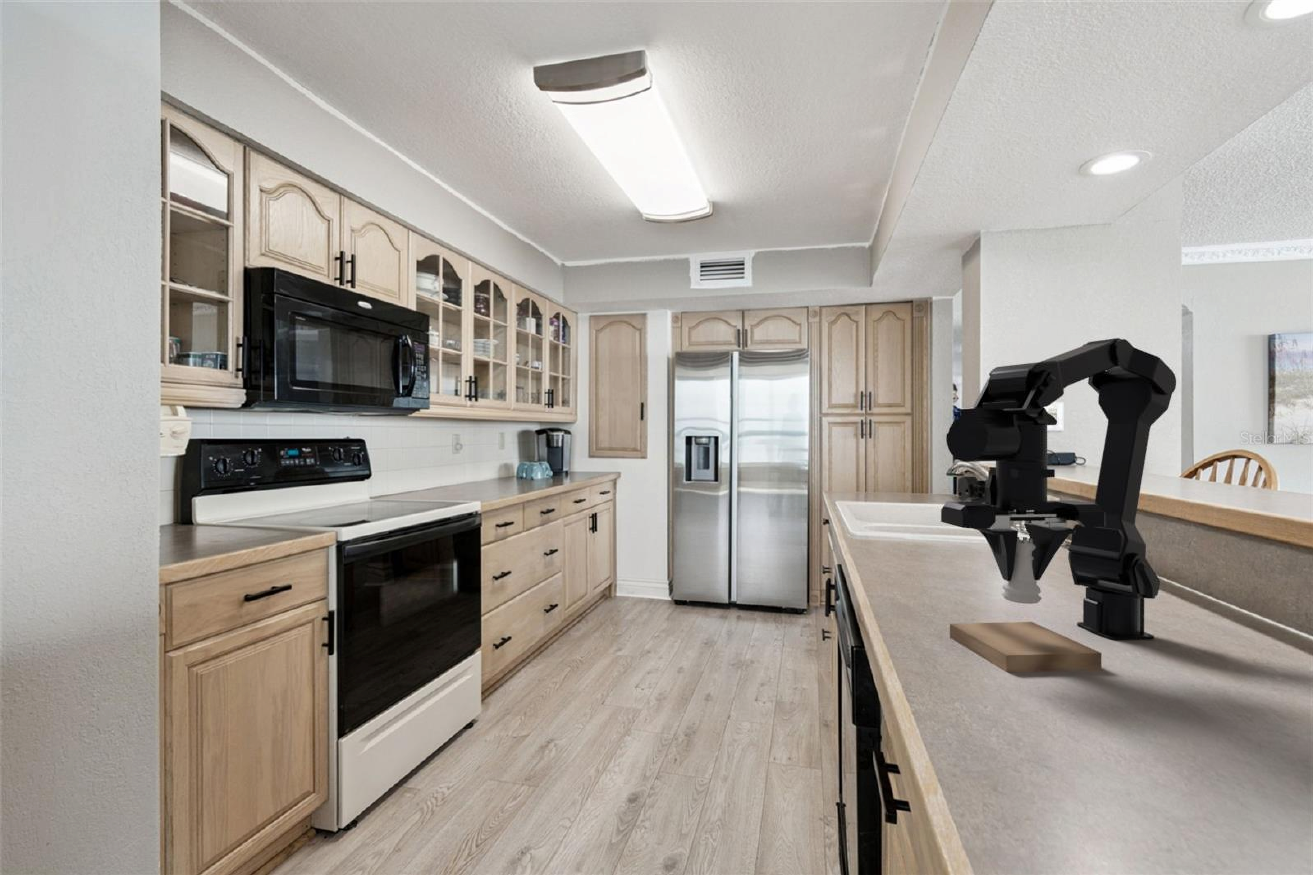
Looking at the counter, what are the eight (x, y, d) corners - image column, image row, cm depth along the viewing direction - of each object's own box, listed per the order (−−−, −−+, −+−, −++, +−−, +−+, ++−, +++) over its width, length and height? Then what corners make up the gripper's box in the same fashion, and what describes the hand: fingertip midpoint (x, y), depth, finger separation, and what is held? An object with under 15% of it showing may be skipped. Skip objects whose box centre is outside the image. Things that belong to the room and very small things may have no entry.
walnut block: (1031, 639, 83) (1031, 621, 83) (1101, 673, 71) (1101, 652, 71) (949, 641, 82) (949, 623, 82) (1006, 676, 71) (1006, 655, 71)
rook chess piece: (1036, 596, 78) (1036, 536, 78) (1046, 605, 74) (1046, 542, 74) (998, 593, 80) (998, 534, 80) (1005, 602, 76) (1005, 540, 75)
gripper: (1045, 457, 85) (1045, 565, 85) (920, 458, 84) (920, 567, 84) (1108, 461, 74) (1108, 584, 74) (965, 462, 73) (965, 587, 73)
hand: (1021, 580), depth 77 cm, fingers closed on rook chess piece, 3 cm apart
